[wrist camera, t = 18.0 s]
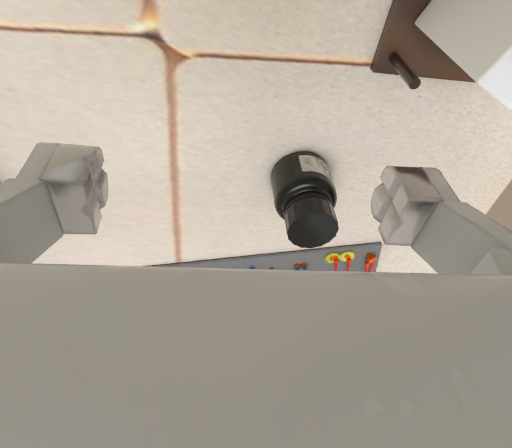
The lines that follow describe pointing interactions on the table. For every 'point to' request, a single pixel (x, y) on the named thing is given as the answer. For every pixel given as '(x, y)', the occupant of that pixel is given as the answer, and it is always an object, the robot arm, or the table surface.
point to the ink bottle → (305, 199)
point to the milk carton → (475, 40)
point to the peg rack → (412, 48)
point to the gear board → (302, 260)
